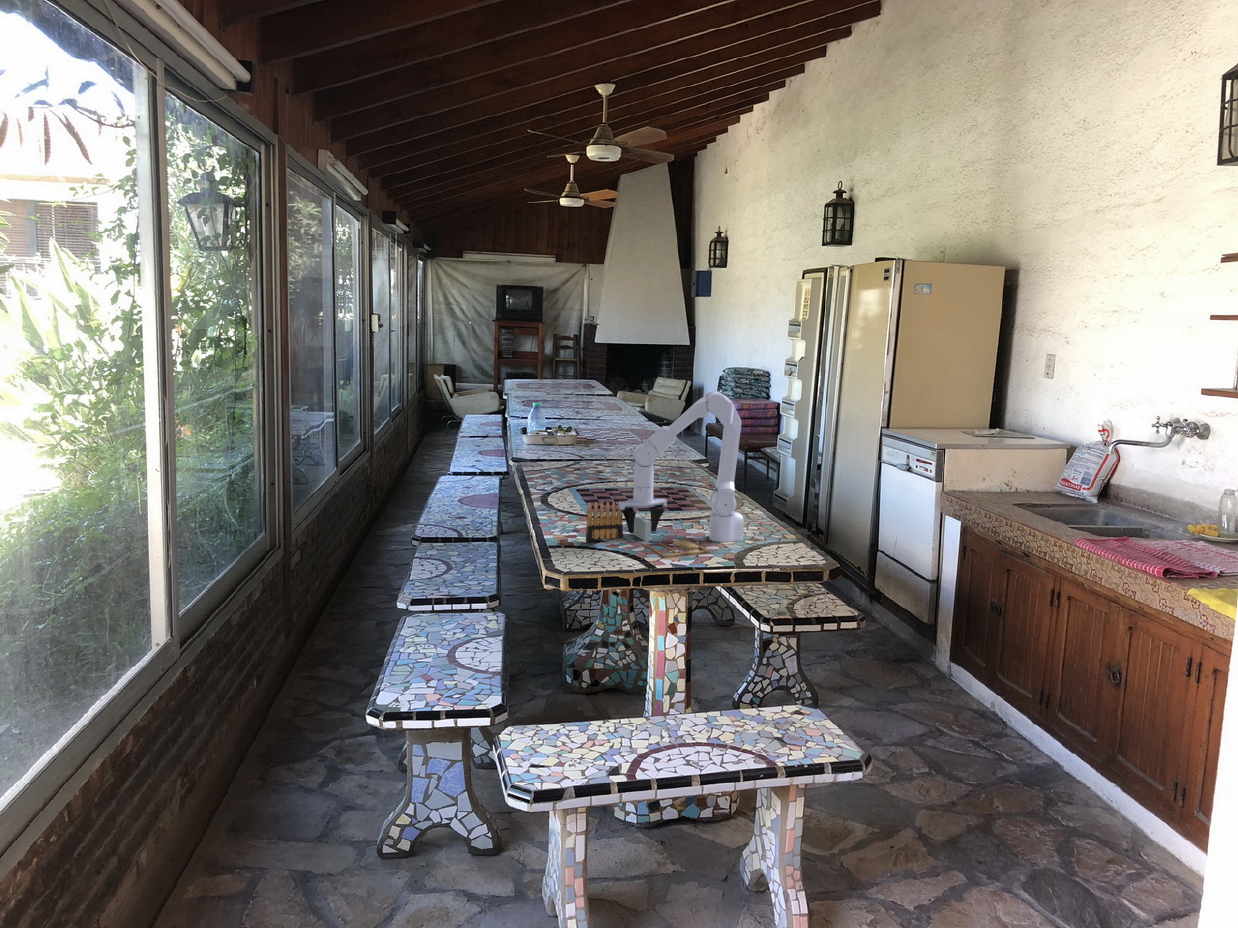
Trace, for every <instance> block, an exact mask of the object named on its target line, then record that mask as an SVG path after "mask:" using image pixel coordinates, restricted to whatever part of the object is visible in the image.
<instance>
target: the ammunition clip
mask: <svg viewBox="0 0 1238 928" xmlns="http://www.w3.org/2000/svg"><path fill="white" fill-rule="evenodd" d="M615 502H616V501H615V500H613V501H612V504H611V506H610V501H606V504H605V506H604V502H603V501H601V502H600V505H599V507H598V503H597V501H595V502H594V504H593V506H592V503H591V502H590V501H589V502H588V504H587V513H586V530H585V531H586V533H585V543H587V544H600V543H601V542H600V541H599V539H600V540H601V539H602V540H603V539H607V540H608V539H624V532H623V531H624V529H623V512H622V510H621V509H619V502H621V500H619V501H618V503H617V508H616V503H615ZM592 507H593V508H592ZM610 507H611V508H610ZM610 509H611V510H610ZM616 509H617V510H616ZM592 510H593V511H592Z"/></svg>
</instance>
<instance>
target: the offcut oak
mask: <svg viewBox="0 0 1238 928" xmlns="http://www.w3.org/2000/svg"><path fill="white" fill-rule="evenodd" d="M673 544H674V545H676V546H677V547H680V548H681V547H683V548H685V549H687V550H689V551H691V550H699V546H697V545H694V544H692V543H690V542H688V541H686V540H684V539H677V540H673ZM683 548H682V549H683ZM685 549H684V550H685ZM687 550H686V551H687ZM689 551H688V552H689Z"/></svg>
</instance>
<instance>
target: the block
mask: <svg viewBox="0 0 1238 928" xmlns="http://www.w3.org/2000/svg"><path fill="white" fill-rule="evenodd" d="M632 535H633V536H635V537H637V538H639V539H641V540H642V541H644V542H650V541H651V540H652V539H651V538H652V530H651V519H650V520H649V519H647V518H646V517H643V516H641V515H640V514H639V515H638V514H637V515H635V520H634V533H633V534H632Z"/></svg>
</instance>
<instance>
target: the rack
mask: <svg viewBox="0 0 1238 928" xmlns="http://www.w3.org/2000/svg"><path fill="white" fill-rule="evenodd" d="M683 540H686V541H688V542H690V543H692V544H694V545H697V546H699V550H700V551H692V552H689V551H685V552H677V551H676V550H674V549H672V548H671V547H669V546H667V545H665V544H663V543H662V542H658V545H661V546H662V547H664V548H666V549H667V550H669V551H671V552H673V553H663V552H661V551H659V550H658V549H656V548H655V547H653V546H650V545H649V544H647V543H645V544H643V546H644V547H646V549H649V550H651V551H653V552H654V553H656V554H658V555H660V556H661V558H663V559H668V558H669V559H671V558H678V557H688V556H696V555H697V556H699V555H707V554H709V555H710V554H711V550H710V549H708V548H706V547H704V546H702V545H700V544H698V543H695V542H694V541H692V540H690V539H688V538H683Z"/></svg>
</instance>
